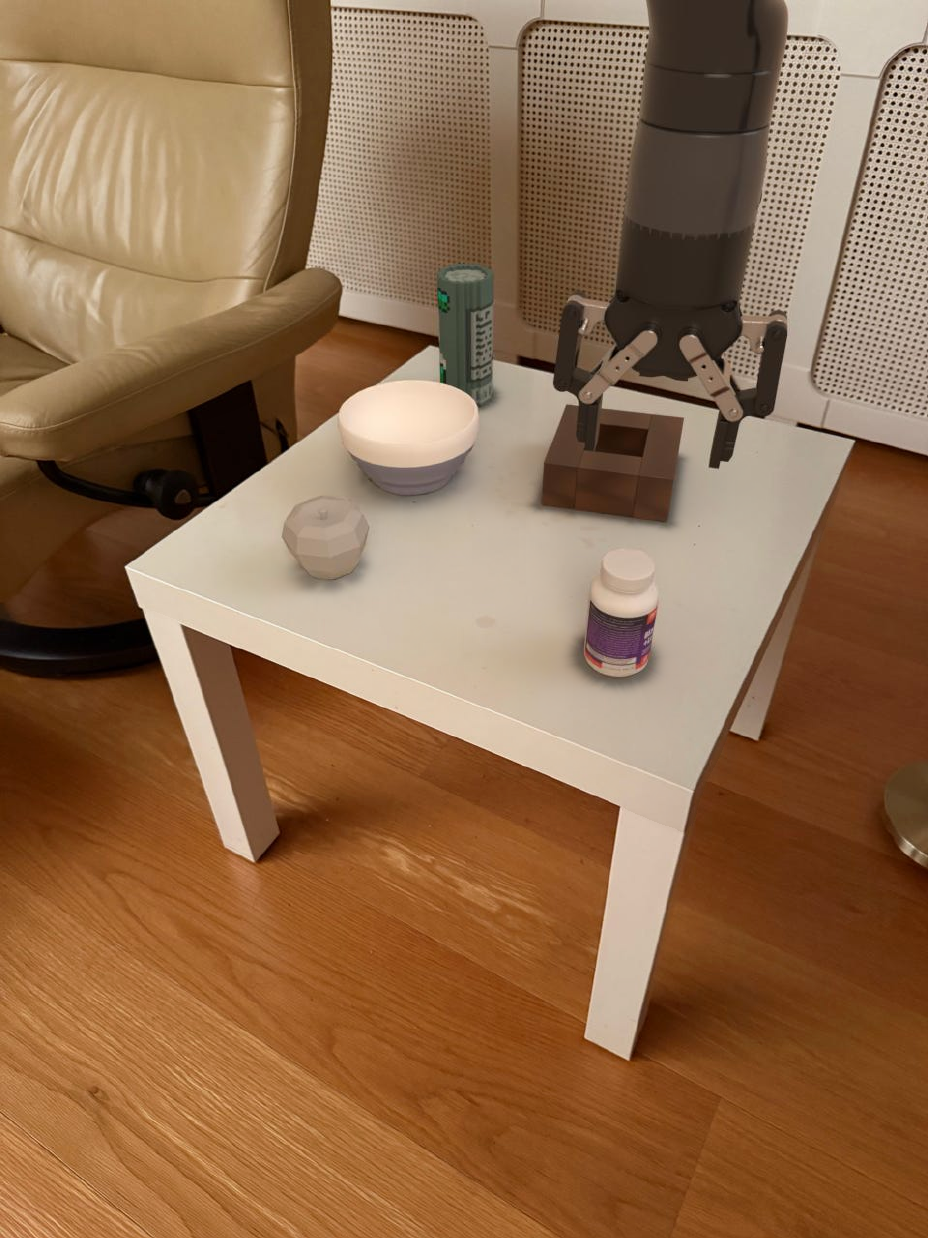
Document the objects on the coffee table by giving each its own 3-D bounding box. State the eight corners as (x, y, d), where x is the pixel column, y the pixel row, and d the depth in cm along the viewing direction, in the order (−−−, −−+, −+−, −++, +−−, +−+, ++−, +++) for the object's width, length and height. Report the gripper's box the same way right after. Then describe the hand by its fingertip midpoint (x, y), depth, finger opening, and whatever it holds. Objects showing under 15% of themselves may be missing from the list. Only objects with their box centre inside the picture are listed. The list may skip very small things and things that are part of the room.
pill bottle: (652, 679, 71) (669, 585, 64) (585, 679, 71) (596, 585, 65) (643, 634, 75) (659, 541, 68) (580, 634, 75) (589, 541, 69)
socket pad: (677, 458, 97) (684, 417, 93) (666, 522, 87) (674, 479, 84) (563, 444, 99) (566, 403, 96) (541, 505, 90) (543, 462, 87)
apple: (390, 560, 83) (385, 502, 79) (336, 605, 78) (327, 545, 74) (326, 533, 87) (318, 476, 82) (270, 575, 82) (258, 516, 77)
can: (462, 380, 112) (460, 260, 102) (500, 394, 109) (503, 271, 99) (431, 398, 108) (426, 275, 98) (470, 413, 105) (469, 287, 95)
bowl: (470, 437, 101) (470, 374, 96) (488, 507, 90) (488, 441, 85) (343, 445, 100) (336, 383, 95) (345, 518, 89) (337, 451, 84)
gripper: (556, 217, 49) (541, 468, 60) (821, 238, 46) (756, 497, 57) (579, 181, 55) (561, 416, 65) (817, 198, 52) (758, 441, 63)
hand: (652, 454), depth 61 cm, fingers open, 8 cm apart
